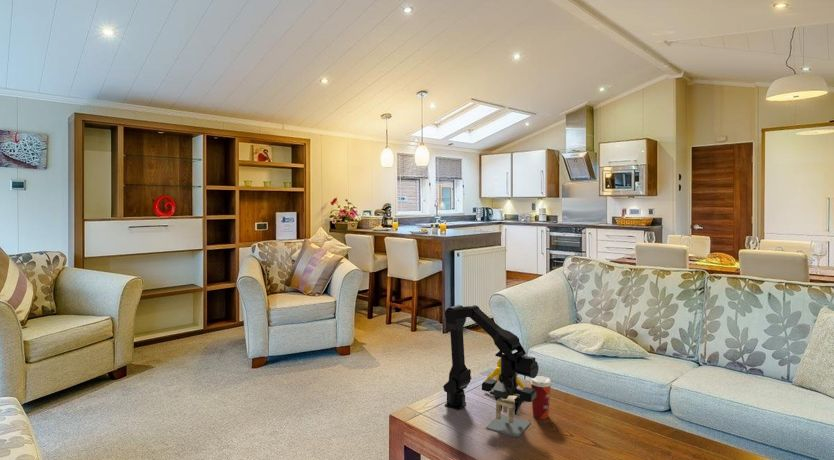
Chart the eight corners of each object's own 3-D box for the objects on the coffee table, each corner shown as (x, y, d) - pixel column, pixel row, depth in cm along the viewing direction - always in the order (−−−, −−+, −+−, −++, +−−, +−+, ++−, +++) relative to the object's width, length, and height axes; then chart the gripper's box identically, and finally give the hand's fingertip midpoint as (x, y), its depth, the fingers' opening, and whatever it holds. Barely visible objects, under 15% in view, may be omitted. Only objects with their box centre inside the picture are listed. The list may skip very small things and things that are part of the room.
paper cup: (552, 421, 167) (552, 384, 166) (530, 419, 169) (530, 382, 168) (550, 411, 175) (550, 376, 174) (529, 409, 176) (530, 374, 175)
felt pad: (485, 428, 162) (485, 427, 162) (499, 414, 172) (499, 413, 172) (518, 437, 156) (518, 436, 156) (530, 423, 166) (530, 422, 166)
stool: (504, 410, 169) (504, 393, 168) (520, 415, 165) (520, 397, 165) (496, 418, 162) (496, 400, 162) (512, 423, 159) (512, 404, 159)
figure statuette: (481, 392, 192) (482, 341, 191) (485, 385, 200) (485, 336, 198) (524, 398, 186) (525, 345, 185) (526, 391, 194) (527, 340, 192)
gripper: (474, 372, 161) (474, 414, 162) (525, 384, 151) (525, 429, 152) (488, 362, 170) (488, 403, 172) (537, 373, 160) (536, 416, 161)
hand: (508, 412), depth 164 cm, fingers closed on stool, 5 cm apart
